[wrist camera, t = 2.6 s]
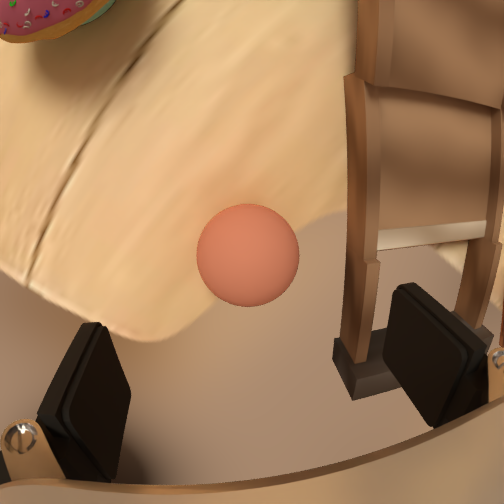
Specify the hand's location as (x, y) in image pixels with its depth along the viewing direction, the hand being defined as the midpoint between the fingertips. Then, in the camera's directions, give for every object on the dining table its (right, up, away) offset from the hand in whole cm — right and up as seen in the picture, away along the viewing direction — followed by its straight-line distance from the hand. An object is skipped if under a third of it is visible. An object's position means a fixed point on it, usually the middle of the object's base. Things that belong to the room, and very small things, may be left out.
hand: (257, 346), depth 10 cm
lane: (+11, +10, +7) cm, 17 cm away
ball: (-1, +4, +8) cm, 9 cm away
